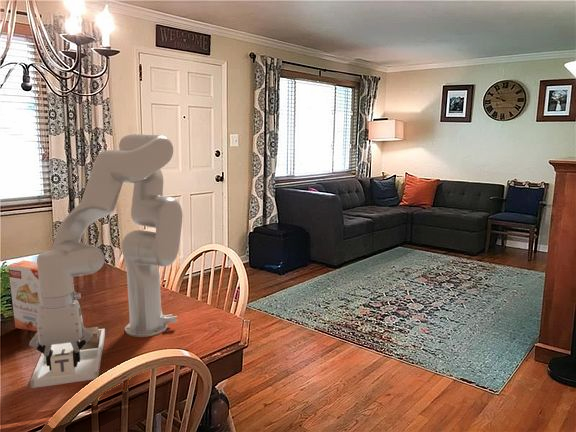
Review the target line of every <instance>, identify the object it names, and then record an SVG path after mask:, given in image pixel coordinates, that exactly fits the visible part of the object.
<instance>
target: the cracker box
mask: <svg viewBox="0 0 576 432" xmlns="http://www.w3.org/2000/svg"><path fill="white" fill-rule="evenodd" d="M7 269H8V270H7V271H8V276H9V284H10V293H11V300H12V310H13V311H12V312H13V319H14V325H15V326H14V327H15V329H19V330H24V331H26V330H27V331H32V332H36V333H37V332H38V329H37V323H38V309H39V305H40V304H41V297H40V287H39V277H38V268H37V261H30V260H20V261H17V262H14V263H10V264H8V266H7Z"/></svg>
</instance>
